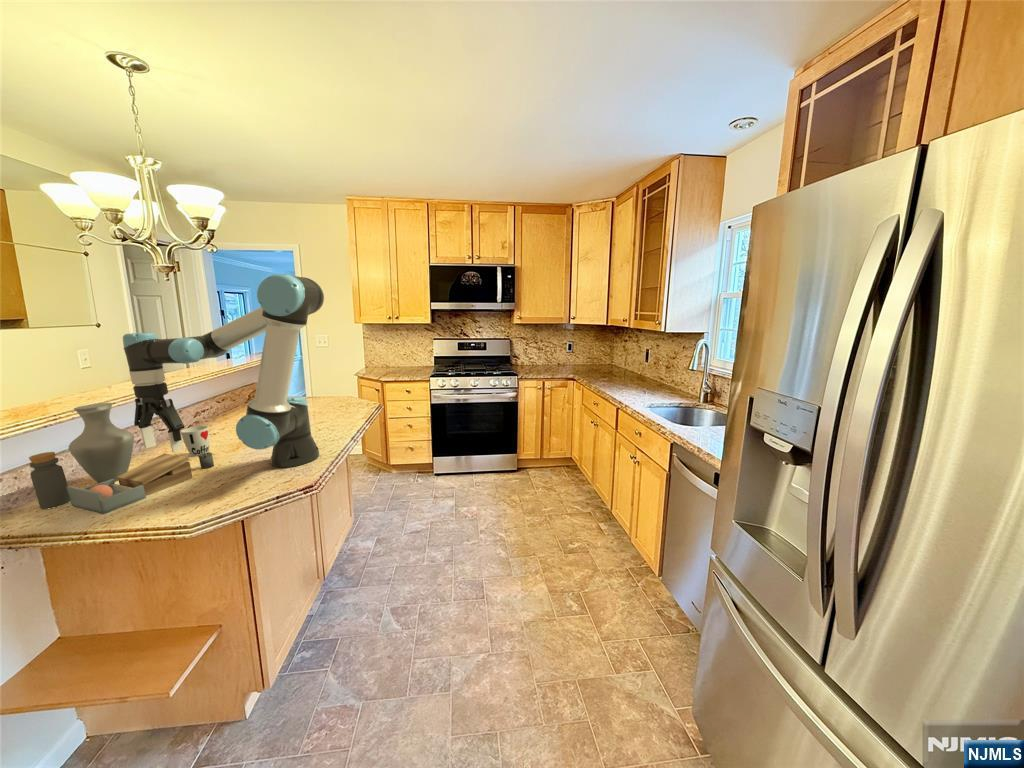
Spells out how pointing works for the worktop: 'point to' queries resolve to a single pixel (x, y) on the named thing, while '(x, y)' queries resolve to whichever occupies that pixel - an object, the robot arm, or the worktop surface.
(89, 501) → the bin
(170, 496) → the worktop surface
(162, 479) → the ramp
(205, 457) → the tee
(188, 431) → the cup
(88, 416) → the vase
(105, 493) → the ball
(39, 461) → the bottle
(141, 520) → the worktop surface
